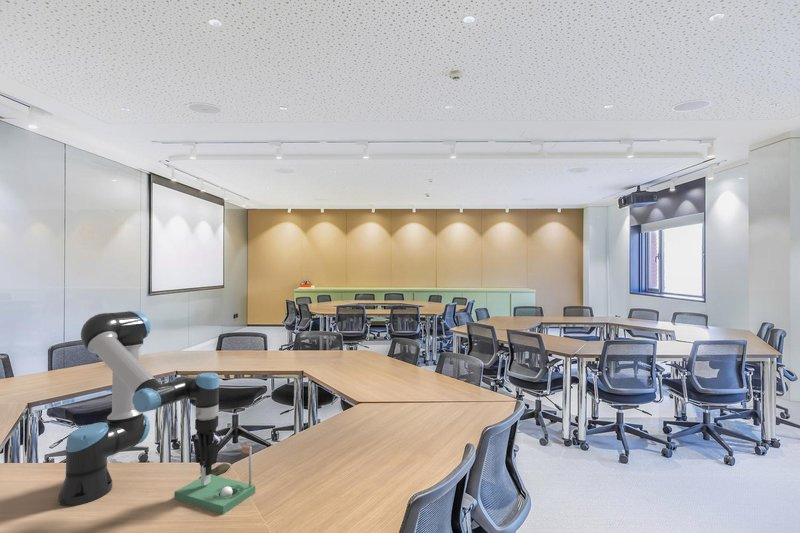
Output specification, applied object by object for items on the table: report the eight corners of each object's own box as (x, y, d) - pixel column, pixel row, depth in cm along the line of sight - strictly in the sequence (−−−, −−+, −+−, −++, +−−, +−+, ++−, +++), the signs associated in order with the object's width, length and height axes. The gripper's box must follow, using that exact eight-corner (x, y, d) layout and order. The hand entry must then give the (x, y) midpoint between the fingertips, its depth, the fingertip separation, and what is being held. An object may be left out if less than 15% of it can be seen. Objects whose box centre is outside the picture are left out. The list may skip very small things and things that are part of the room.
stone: (223, 467, 159) (223, 461, 159) (232, 469, 157) (232, 463, 157) (195, 482, 147) (195, 476, 147) (204, 484, 145) (204, 478, 145)
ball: (215, 495, 134) (221, 487, 133) (225, 489, 138) (230, 481, 137) (222, 504, 132) (227, 496, 132) (231, 498, 136) (236, 490, 135)
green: (174, 499, 135) (175, 451, 136) (208, 480, 148) (209, 436, 148) (223, 514, 125) (223, 462, 126) (255, 492, 138) (255, 446, 139)
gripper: (185, 417, 139) (183, 484, 138) (211, 422, 134) (209, 492, 132) (203, 411, 146) (202, 475, 145) (228, 416, 140) (227, 482, 139)
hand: (205, 483), depth 139 cm, fingers closed
